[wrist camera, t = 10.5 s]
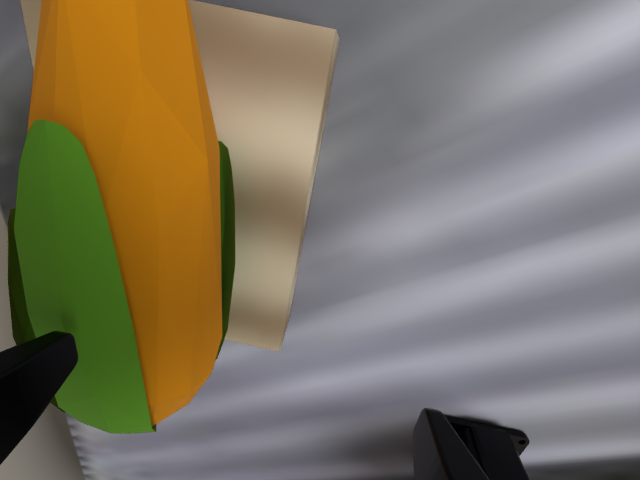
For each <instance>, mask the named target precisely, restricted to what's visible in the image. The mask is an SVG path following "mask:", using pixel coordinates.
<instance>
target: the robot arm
mask: <svg viewBox="0 0 640 480" xmlns="http://www.w3.org/2000/svg"><path fill="white" fill-rule="evenodd" d="M77 362H78V352H77V347H76V342H75V338H74V336H73V335H72V334H71V333H67V332H62V331H53V332H50V333H47V334H45V335H42V336H40V337H37V338H35V339H32V340H29V341H27V342H24V343H22V344H19V345H17V346H14V347H12V348H9V349H7V350H4V351H2V352H0V464H1V463H2V462H3V461H4V460H5V459H6V458H7V456H8V455H9V454H10V453H11V452H12V450H13V449H14V448H15V447H16V446H17V444H18V443H19V442H20V441H21V440H22V439H23V437H24V436H25V435H26V434H27V432H28V431H29V430H30V429H31V428H32V426H33V425H34V424H35V422H36V421H37V420H38V418H39V417H40V416H41V414H42V413H43V412H44V410H45V409H46V407H47V406H48V404H49V403H50V402H51V400H52V399H53V397H54V396H55V395H56V393H57V392H58V390H59V389H60V388H61V386H62V385H63V383H64V382H65V381H66V379H67V378H68V376H69V375H70V374H71V372H72V371H73V369H74V368H75V366H76V364H77ZM528 444H529V439H528V437H527V435H526V434H525V433H522V432H517V431H512V430H508V429H503V428H498V427H493V426H489V425H484V424H479V423H475V422H470V421H465V420H461V419H456V418H451V417H445V416H444V415H443V413H442V412H440V411H438V410H434V409H429V408H424V409H423V410H422V411H421V414H420V416H419V418H418V420H417V423H416V425H415V427H414V431H413V459H414V480H529V478H528V475H527V473H526V471H525V469H524V466H523V464H522V462H521V459H520V457H519V456H520V455H521V453H522V452H523V451H524V449H525V448H526V447H527V445H528Z"/></svg>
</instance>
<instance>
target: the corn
mask: <svg viewBox="0 0 640 480" xmlns="http://www.w3.org/2000/svg"><path fill="white" fill-rule="evenodd" d="M234 271H235V198H234V187H233V176H232V167H231V161H230V156H229V151H228V148H227V147H226V146H225V145H224V144H223V142H222V141H218V139H217V134H216V129H215V125H214V120H213V115H212V111H211V106H210V101H209V96H208V92H207V87H206V82H205V78H204V73H203V68H202V63H201V59H200V54H199V49H198V44H197V40H196V35H195V30H194V26H193V21H192V16H191V11H190V7H189V2H188V0H42V2H41V11H40V20H39V29H38V38H37V48H36V57H35V66H34V75H33V84H32V94H31V103H30V112H29V121H28V130H27V136H26V140H25V144H24V148H23V151H22V155H21V159H20V163H19V172H18V185H17V197H16V209H11V212H10V216H9V220H8V286H9V297H10V307H11V319H12V330H13V338H14V340H15V342H16V345H19V344H22V343H24V342H27V341H29V340H32V339H35V338H37V337H40V336H42V335H45V334H47V333H50V332H53V331H62V332H67V333H71V334H72V335H73V336H74V338H75V342H76V347H77V352H78V362H77V364H76V366H75V368H74V369H73V371H72V372H71V374H70V375H69V376H68V378H67V379H66V381H65V382H64V383H63V385H62V386H61V388H60V389H59V390H58V392H57V393H56V395H55V396H54V397H53V399H52V400H51V403H52V404H53V405H55V406H56V407H57V408H58V409H60V410H61V411H63V412H66V413H68V414H70V415H71V416H73V417H74V418H76V419H77V420H79V421H80V422H82V423H84V424H87V425H90V426H93V427H95V428H98V429H101V430H103V431H106V432H109V433H129V434H130V433H146V432H156V424H157V423H159V422H160V421H162V420H164V419H165V418H167V417H168V416H170V415H171V414H173V413H175V412H176V411H178V410H179V409H181V408H183V407H184V406H186V405H187V404H188V403H189V402H190V401H191V399H192V398H193V397H194V396H195V394H196V393H197V392H198V390H199V389H200V388H201V386H202V385H203V384H204V382H205V381H206V380H207V378H208V377H209V376H210V375H211V373H212V370H213V366H214V363H215V360H216V359H217V358H218V355H219V352H220V349H221V347H222V344H223V341H224V338H225V336H226V333H227V330H228V323H229V314H230V306H231V297H232V288H233V280H234Z"/></svg>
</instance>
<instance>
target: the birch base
mask: <svg viewBox="0 0 640 480" xmlns="http://www.w3.org/2000/svg"><path fill="white" fill-rule="evenodd" d="M41 2H42V0H21V6H22V11H23V16H24V22H25V27H26V33H27V38H28V43H29V49H30V54H31V59H32V65H33V70H34V66H35V57H36V48H37V38H38V29H39V20H40V11H41ZM188 2H189V7H190V11H191V16H192V21H193V26H194V30H195V35H196V40H197V44H198V49H199V54H200V59H201V63H202V68H203V73H204V78H205V82H206V87H207V92H208V96H209V101H210V106H211V111H212V115H213V120H214V125H215V129H216V134H217V139H218V141H222V142H223V144H224V145H225V146H226V147H227V148H228V151H229V156H230V161H231V167H232V176H233V187H234V198H235V271H234V280H233V288H232V297H231V306H230V314H229V323H228V330H227V333H226V336H225V338H224V340H228V341H233V342H237V343H242V344H247V345H251V346H256V347H261V348H265V349H270V350H275V351H280V349H281V346H282V342H283V339H284V335H285V332H286V328H287V324H288V321H289V317H290V311H291V306H292V300H293V295H294V289H295V284H296V278H297V273H298V267H299V261H300V256H301V250H302V245H303V239H304V234H305V228H306V223H307V217H308V212H309V206H310V201H311V195H312V189H313V184H314V178H315V173H316V167H317V162H318V156H319V151H320V145H321V140H322V134H323V129H324V123H325V117H326V112H327V106H328V101H329V95H330V90H331V84H332V79H333V73H334V68H335V62H336V56H337V51H338V45H339V40H340V39H339V37H338V34H337V31H336V29H331V28H326V27H321V26H316V25H311V24H306V23H302V22H297V21H292V20H287V19H282V18H277V17H272V16H267V15H262V14H258V13H253V12H248V11H243V10H238V9H233V8H228V7H223V6H219V5H214V4H209V3H204V2H199V1H194V0H188Z"/></svg>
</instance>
